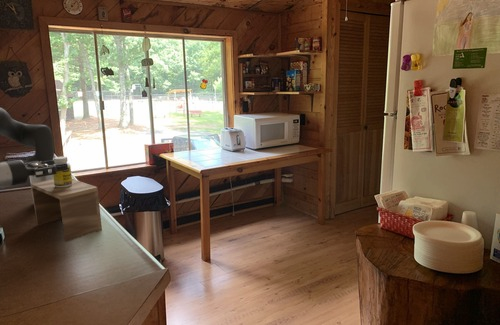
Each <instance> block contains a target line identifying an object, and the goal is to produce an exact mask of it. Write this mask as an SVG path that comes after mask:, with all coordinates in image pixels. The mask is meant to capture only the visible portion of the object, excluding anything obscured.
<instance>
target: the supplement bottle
mask: <svg viewBox="0 0 500 325" xmlns="http://www.w3.org/2000/svg"><path fill="white" fill-rule="evenodd" d="M53 160H54V163H55V164H54V165H57V164H63V163H66V164H67V165H68V169H67V170H64V171H59V172H57V174H55V175H53V177H54V185H55V187H58V188H63V187H69V186H71V185H72V179H73V177H72V176H73V175H72V168H71V167H72V166H71V164H70V162H68V157H67V156H56V157H53Z"/></svg>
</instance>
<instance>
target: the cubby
mask: <svg viewBox="0 0 500 325" xmlns="http://www.w3.org/2000/svg"><path fill="white" fill-rule="evenodd" d="M30 188H32V190H31V195H33V197H32V202H34V203H33V207H34V214H35V221H36V226H42V225H44V224H47V223H51V222H54V221H58V220H62V222H61V223H62V228H63V236H64V242H66V243H67V242H70V241H73V240H75V239H79V238H81V237H85V236H88V235H90V234H94V233H96V232H99V231H102V230H103V226H102V218H101V208H100V200H99V191H98V186H95V185H92V184H89V183H85V182H83V181H80V180H77V179H73V178H72V185H71V186H69V187H63V188H58V187H55V185H54V179H52V180H47V181H42V182H37V183H32V184H31V183H30Z"/></svg>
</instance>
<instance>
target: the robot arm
mask: <svg viewBox="0 0 500 325" xmlns="http://www.w3.org/2000/svg"><path fill="white" fill-rule="evenodd" d="M0 136H3V137H6V138H7V139H10V140H12V141H14V142H16V143H18V144H19V145H22V146H24V147H27V148H34V151H35V152H34V154H33V155H31V156H28V157H27V159H26V162H24V160H22V159H16V160H15V159H14V160H13V159H12V160H7V161H1V162H0V189H1V188H7V187H11V186H18V185H22V184H26V183H27V181H28V178H29V182H30V185H31V184H32V183H37V182H42V181H47V180H52V179H54V177H53V175H55V174H57V172H59V171H64V170H67V169H68V165H67V164H66V163H63V164H57V165H54V164H55V163H54V158H55V147H54V146H55V145H54V135H53V131H52V130H51V128H50V127H49V126H48V125H46V124H29V123H28V124H27V123H24V122H21V121H17V120H15V119H14V118H12V116H11V115H10V114H9V112H7V110H6V109H4V108H3V107H0ZM30 188H31V187H30ZM31 191H32V188H31ZM31 195H32V194H31ZM32 198H33V195H32ZM32 202H33V201H32ZM33 204H34V202H33Z"/></svg>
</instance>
